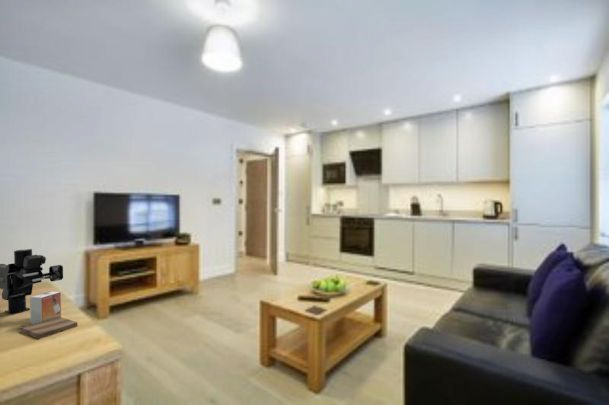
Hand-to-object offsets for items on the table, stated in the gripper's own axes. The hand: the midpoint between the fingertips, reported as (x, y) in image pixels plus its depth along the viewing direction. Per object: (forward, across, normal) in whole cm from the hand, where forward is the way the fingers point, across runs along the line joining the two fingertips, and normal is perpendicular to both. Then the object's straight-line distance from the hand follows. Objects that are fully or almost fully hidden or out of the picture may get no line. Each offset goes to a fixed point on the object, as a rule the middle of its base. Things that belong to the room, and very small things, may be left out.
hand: (46, 279), depth 127 cm
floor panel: (+10, -4, +16) cm, 20 cm away
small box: (-1, 0, +17) cm, 17 cm away
